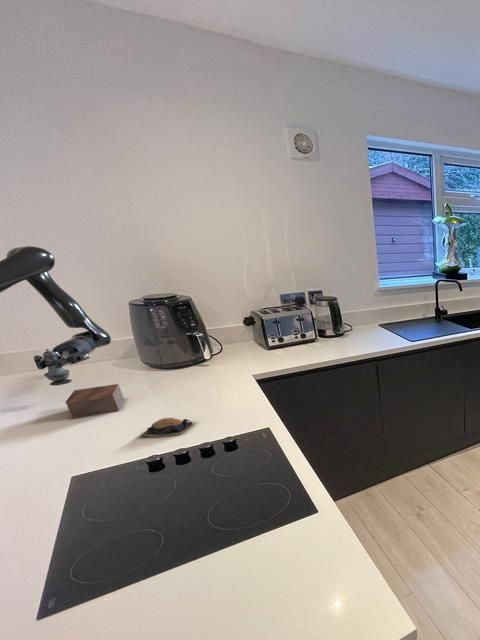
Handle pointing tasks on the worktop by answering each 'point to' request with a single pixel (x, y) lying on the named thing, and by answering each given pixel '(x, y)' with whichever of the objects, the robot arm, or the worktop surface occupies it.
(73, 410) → the brown rectangular block
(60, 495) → the worktop surface
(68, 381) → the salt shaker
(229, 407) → the worktop surface
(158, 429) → the turtle figurine
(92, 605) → the worktop surface
